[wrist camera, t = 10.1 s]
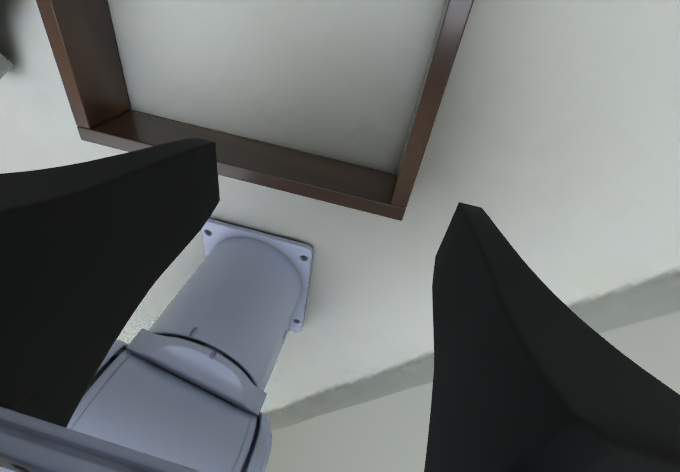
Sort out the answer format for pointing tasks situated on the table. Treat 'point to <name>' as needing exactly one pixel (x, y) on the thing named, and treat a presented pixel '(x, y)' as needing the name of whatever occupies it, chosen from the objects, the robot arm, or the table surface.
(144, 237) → the robot arm
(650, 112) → the table surface
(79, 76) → the bin
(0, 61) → the smooth white sculpture
